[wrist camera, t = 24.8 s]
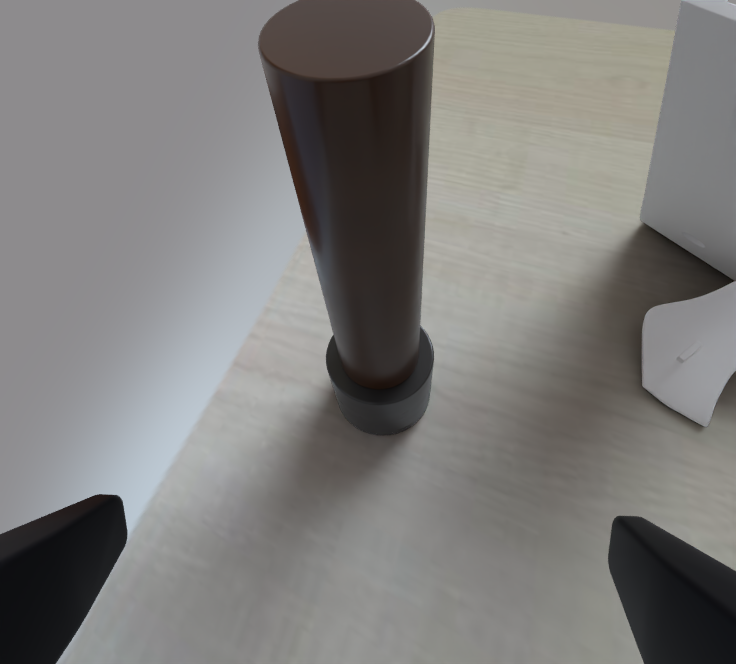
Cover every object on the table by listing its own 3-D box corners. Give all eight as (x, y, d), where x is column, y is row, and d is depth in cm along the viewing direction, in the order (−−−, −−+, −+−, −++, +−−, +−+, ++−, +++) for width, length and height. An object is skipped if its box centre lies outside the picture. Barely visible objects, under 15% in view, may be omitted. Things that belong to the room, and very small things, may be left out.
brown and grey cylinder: (384, 455, 16) (339, 140, 5) (318, 392, 18) (176, 41, 7) (449, 388, 18) (522, 15, 7) (382, 334, 19) (349, -47, 8)
